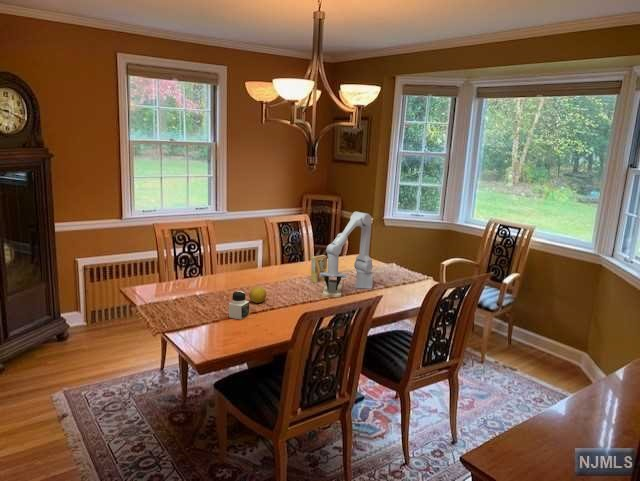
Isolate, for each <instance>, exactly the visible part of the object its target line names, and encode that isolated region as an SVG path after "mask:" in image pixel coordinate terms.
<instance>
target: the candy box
mask: <svg viewBox="0 0 640 481" xmlns="http://www.w3.org/2000/svg"><path fill="white" fill-rule="evenodd" d="M310 265H311V268H310V269H311V271H310V281H311V282H312V283H315V284H316V282H317V283H320V282H325V280H324V277H319V274H320V273H326V272H328V256H327V255H324V254H320V255H316V256H311V264H310Z"/></svg>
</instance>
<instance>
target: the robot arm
mask: <svg viewBox="0 0 640 481" xmlns="http://www.w3.org/2000/svg"><path fill="white" fill-rule="evenodd" d="M372 219H373V218H372V216H371V215H370V213H366V212H360V211H354V212H353V213H352V214H351V215H350V220H349V221H348V223H347V225H346V226H345V228H344V230H343V231H342V232H339V233H337V235H336V237H335V239H333V241H332V242H331V243H330V244H328V245H327V246H326V249H325V252H326V254H327V255H326V256H327V271H326V273H320V274H319V277H324V280H325V281H324V282H325V284H326V285H327V290H328V289H329V280H330V278H336V290H337V288H338V285H339V284H340V282H341V280H342V278H344V279H347V274H346V273H342V272H339V258H340V256H339V255H341V253H342V249H343V246H344V245H345V244H346V242H347V241H348V237H349V235H350V234H351V232H352V231H353V230H354V229H356V227H359V228H360V229H361V230H360V232H361V233H360V242H359V253H358V255H357V256H356V257H355V261H354V263H353V264H354V265H353V267H354V269H355V271H356V283H355V289H368V290H369V289H370V290H371V289H373V285H374V282H373V280H374V279H373V278H374V274H373V273H374V272H373V267H374V266H373V259H372V257H370V248H371V247H370V244H371V235H372V234H371V233H372Z"/></svg>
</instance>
